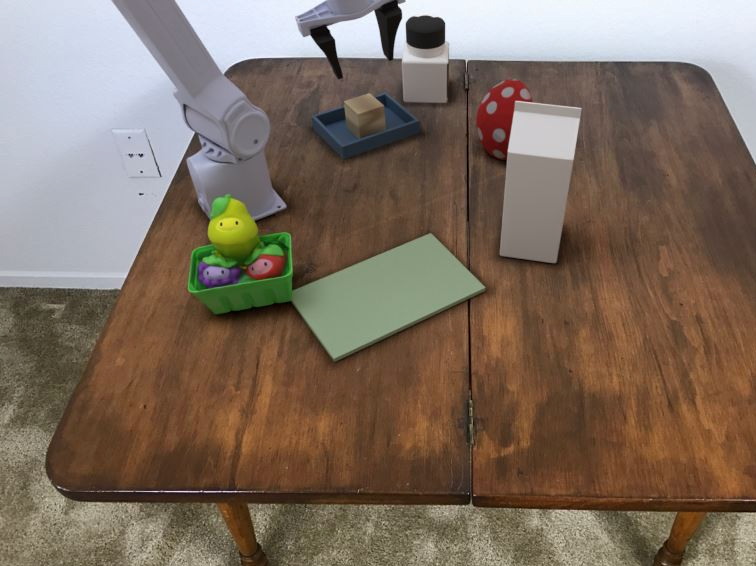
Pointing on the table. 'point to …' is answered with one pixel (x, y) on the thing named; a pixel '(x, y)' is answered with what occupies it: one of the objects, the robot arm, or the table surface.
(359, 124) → the block
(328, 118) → the tray
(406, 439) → the table surface
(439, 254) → the mat
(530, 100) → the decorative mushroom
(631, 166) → the table surface
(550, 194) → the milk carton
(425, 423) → the table surface
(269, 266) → the fruit basket
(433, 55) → the medicine bottle
